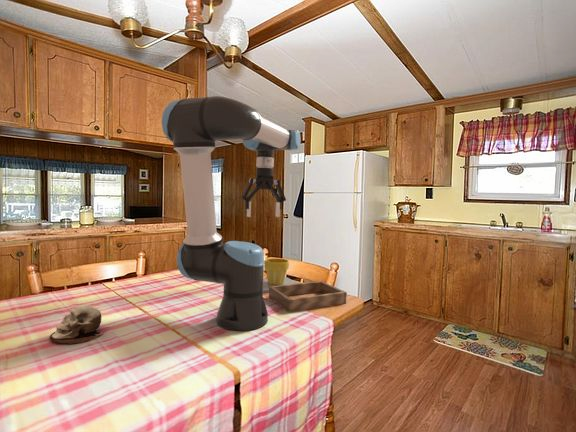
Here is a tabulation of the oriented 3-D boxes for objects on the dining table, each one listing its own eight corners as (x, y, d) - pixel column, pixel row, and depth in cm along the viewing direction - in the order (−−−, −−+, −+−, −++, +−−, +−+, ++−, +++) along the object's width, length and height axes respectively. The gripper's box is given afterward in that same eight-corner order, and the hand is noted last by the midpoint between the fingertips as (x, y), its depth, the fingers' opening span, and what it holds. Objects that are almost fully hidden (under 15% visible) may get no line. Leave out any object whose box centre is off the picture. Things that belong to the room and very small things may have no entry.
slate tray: (262, 293, 121) (262, 290, 121) (249, 283, 134) (249, 280, 134) (302, 288, 129) (302, 285, 129) (286, 279, 142) (286, 276, 142)
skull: (52, 348, 71) (48, 307, 76) (50, 363, 78) (46, 324, 82) (111, 332, 79) (103, 296, 84) (105, 347, 86) (98, 313, 90)
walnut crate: (289, 312, 102) (289, 300, 102) (268, 297, 116) (269, 286, 116) (346, 303, 113) (346, 292, 112) (321, 290, 127) (321, 280, 127)
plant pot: (289, 280, 136) (290, 258, 136) (286, 287, 126) (287, 263, 125) (266, 279, 137) (266, 257, 137) (261, 285, 127) (262, 261, 126)
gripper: (240, 164, 125) (238, 217, 127) (294, 169, 137) (292, 217, 138) (234, 166, 132) (233, 216, 133) (286, 170, 144) (285, 216, 145)
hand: (263, 216), depth 136 cm, fingers open, 13 cm apart
